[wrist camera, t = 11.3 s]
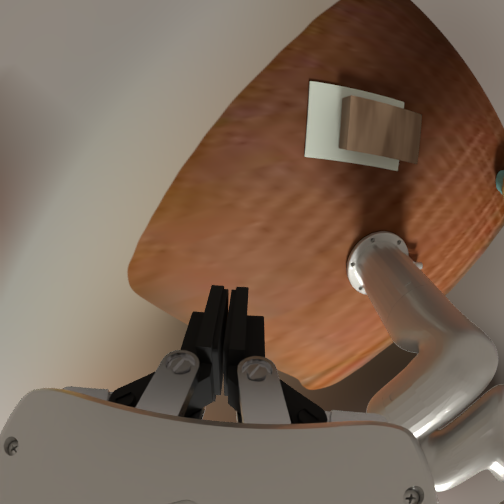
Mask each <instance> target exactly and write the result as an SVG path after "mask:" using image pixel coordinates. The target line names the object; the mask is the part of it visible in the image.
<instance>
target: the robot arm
mask: <svg viewBox="0 0 504 504" xmlns="http://www.w3.org/2000/svg"><path fill="white" fill-rule="evenodd" d="M371 238H372V239H371ZM422 266H423V265H422V262H414V261H413V260H412V259H411V258H410V257H409V253H408V248H407V246H406V244H405V243H404V241H403V240H402V239H401V238H400V237H399V236H397V235H396V234H394V233H391V232H387V231H379V232H375V233H372V234H369V235H368V236H366V237H364V238H363V239H362V240H360V241H359V242H358V243H357V244H356V245H355V247H354V248H353V250H352V251H351V253H350V255H349V258H348V261H347V269H346V270H347V276H348V279H349V281H350V283H351V285H352V286H353V287H354V289H356V290H357V291H358V292H360V293H363V294H367V295H368V297H369V299H370V301H371V302H372V304H373V306H374V308H375V309H376V311H377V313H378V315H379V316H380V318H381V320H382V322H383V324H384V326H385V327H386V329H387V331H388V333H389V335H390V337H391V338H392V340H393V341H394V343H395V344H396V345H397V346H399V347H400V348H402V349H404V350H407V351H409V352H415V353H418V355H417V356H416V357H415V358H414V359H413V360H412V361H411V362H410V363H409V365H408V366H407V367H406V368H405V369H403V370H402V371H401V372H400V373H399V374H398V375H397V376H396V377H395V378H393V379H392V380H391V381H390V382H389V383H388V384H386V385H385V386H384V387H383V388H382V389H381V390H379V391H378V392H377V393H376V394H375V395H374V396H373V398H372V399H371V400H370V402H369V404H368V407H367V413H359V412H346V411H338V410H332V411H331V412H326V411H324V410H323V409H322V408H320V407H319V406H318V405H316V404H315V403H313V402H312V401H310V400H309V399H307V398H306V397H304V396H303V395H302V394H300V393H298V392H297V391H296V390H294V389H293V388H291V387H290V386H289V385H287V384H286V383H284V382H283V381H282V380H280V379H279V376H278V373H277V369H276V366H275V364H274V363H273V362H272V361H271V360H269V359H267V358H265V341H264V316H248V315H247V305H248V287H237V288H236V290H232V292H231V298H230V305H229V312H228V289H224V286H217V285H212V286H211V290H210V294H209V297H208V301H207V305H206V308H205V312H193V313H192V315H191V318H190V321H189V325H188V328H187V331H186V334H185V337H184V340H183V344H182V347H181V350H176V351H173V352H170V353H169V354H167V355H166V356H165V357H164V358H163V360H162V361H161V363H160V365H159V367H158V368H157V370H156V372H153V373H151V374H149V375H147V376H145V377H143V378H141V379H138V380H136V381H134V382H132V383H129V384H128V385H125V386H123V387H121V388H118V389H117V390H115V391H114V392H109V390H108V389H92V388H81V387H72V386H71V387H65V388H63V389H55V388H42V389H36V390H33V391H31V392H29V393H27V394H26V395H25V396H24V397H23V398H22V399H21V400H20V402H19V403H18V405H17V406H16V407H15V409H14V410H13V412H12V413H11V415H10V417H9V419H8V420H7V422H6V424H5V426H4V428H3V430H2V432H1V434H0V504H439V502H438V497H437V493H436V491H445V490H448V489H451V488H453V487H455V486H457V485H459V484H460V483H462V482H464V481H465V480H467V479H468V478H470V477H472V476H474V475H475V474H477V473H478V472H480V471H482V470H485V469H488V470H490V471H491V472H492V474H493V475H494V476H495V477H496V479H497V480H499V481H502V482H504V384H502V385H497V386H495V387H493V388H492V389H490V390H489V391H488V392H486V393H485V394H484V395H483V396H481V397H480V398H479V399H478V400H477V401H476V402H475V403H473V404H472V405H471V406H470V407H469V408H467V409H466V410H465V411H464V412H463V413H462V414H460V415H459V416H458V417H457V418H456V419H454V420H453V421H452V422H450V423H449V424H448V425H447V426H445V427H444V428H442V429H438V428H440V427H441V426H442V425H444V424H445V423H446V422H448V421H449V420H451V419H452V418H453V417H455V416H456V415H457V414H458V413H460V412H461V411H462V410H463V409H464V408H465V407H467V406H468V405H469V404H470V403H471V402H472V401H473V400H474V399H475V398H476V397H478V396H479V395H480V394H481V392H482V391H483V390H484V389H485V388H486V386H487V385H488V384H489V383H490V381H491V379H492V378H493V376H494V374H495V371H496V369H497V365H498V352H497V350H496V347H495V345H494V343H493V342H492V340H491V339H490V338H489V337H488V336H487V335H486V334H485V333H484V332H483V331H482V330H481V329H480V328H479V327H477V326H476V325H475V324H474V323H473V322H471V321H470V320H469V319H468V318H467V317H466V316H465V315H463V314H462V313H461V312H460V311H459V310H458V309H457V308H456V307H455V306H454V305H453V304H452V303H451V302H450V301H449V300H448V299H447V297H446V296H445V295H444V294H443V293H442V292H441V291H440V290H439V289H438V288H437V287H436V286H435V285H434V284H433V282H432V281H431V280H430V279H429V278H428V277H427V276H426V275H425V274H424V273H423V272H422V271H421V270H420V269H422ZM223 373H224V395H225V396H228V404H229V405H230V406H232V407H233V408H234V409H235V410H236V416H237V423H233V422H219V421H210V420H202V418H203V415H204V412H205V406H207V405H208V404H210V403H212V402H213V401H215V399H216V395H221V389H222V380H223ZM499 504H504V500H503V501H502V502H500V503H499Z"/></svg>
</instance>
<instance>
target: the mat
mask: <svg viewBox="0 0 504 504" xmlns="http://www.w3.org/2000/svg"><path fill="white" fill-rule="evenodd" d="M350 95H352V96H357V97H362V98H366V99H370V100H374V101H378V102H382V103H386V104H389V105H393V106H396V107H400V108H403V109H404V102H402V101H399V100H395V99H392V98H389V97H385V96H381V95H378V94H374V93H370V92H366V91H361V90H357V89H353V88H348V87H343V86H338V85H332V84H326V83H320V82H314V81H309V98H308V114H307V129H306V142H305V154H304V157H311V158H319V159H327V160H335V161H342V162H349V163H355V164H362V165H368V166H373V167H379V168H384V169H389V170H394V171H398V165H399V160H397V159H392V158H388V157H383V156H378V155H373V154H367V153H362V152H356V151H350V150H345V149H340V148H339V138H340V126H341V112H342V98H344V97H347V96H350Z"/></svg>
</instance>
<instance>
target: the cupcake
mask: <svg viewBox="0 0 504 504" xmlns="http://www.w3.org/2000/svg"><path fill="white" fill-rule="evenodd" d="M496 187H497V189H498V190H499V191H500V192H501V193H502V194H503V197H504V170H501V171H499V172H498V174H497V176H496Z"/></svg>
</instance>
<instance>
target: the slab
mask: <svg viewBox="0 0 504 504" xmlns="http://www.w3.org/2000/svg"><path fill="white" fill-rule="evenodd" d="M421 121H422V114H419V113H416V112H413V111H409V110H406V109H403V108H400V107H396V106H393V105H389V104H386V103H382V102H378V101H374V100H370V99H366V98H362V97H357V96H352V95H350V96H347V97H344V98H342V112H341V126H340V138H339V148H340V149H345V150H350V151H356V152H362V153H367V154H373V155H378V156H383V157H388V158H392V159H397V160H401V161H406V162H410V163H414V164H417V161H418V153H419V144H420V134H421Z"/></svg>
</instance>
